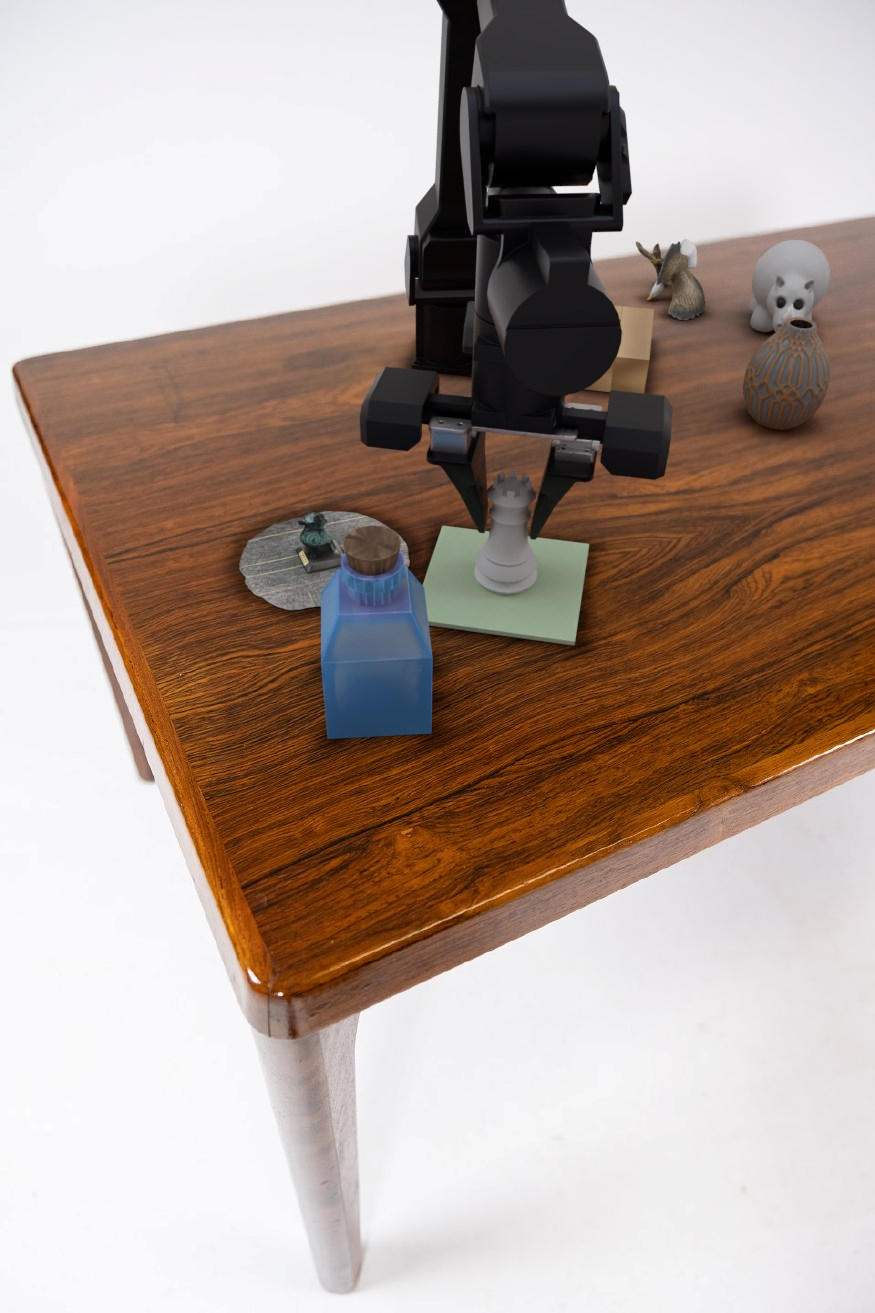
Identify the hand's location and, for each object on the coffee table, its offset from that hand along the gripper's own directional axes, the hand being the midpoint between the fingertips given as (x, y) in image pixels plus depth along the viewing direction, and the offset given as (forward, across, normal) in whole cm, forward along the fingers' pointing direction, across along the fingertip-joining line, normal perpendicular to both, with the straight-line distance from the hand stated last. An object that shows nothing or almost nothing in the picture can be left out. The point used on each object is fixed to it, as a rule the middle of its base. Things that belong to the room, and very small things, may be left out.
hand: (508, 532), depth 68 cm
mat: (+4, 0, 0) cm, 4 cm away
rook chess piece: (+4, 0, 0) cm, 4 cm away
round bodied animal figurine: (+5, -21, -44) cm, 49 cm away
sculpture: (+5, +13, 0) cm, 14 cm away
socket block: (+4, -3, -35) cm, 35 cm away
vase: (+5, -20, -28) cm, 35 cm away
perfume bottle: (+4, +6, +13) cm, 15 cm away
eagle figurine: (+5, -10, -51) cm, 52 cm away
